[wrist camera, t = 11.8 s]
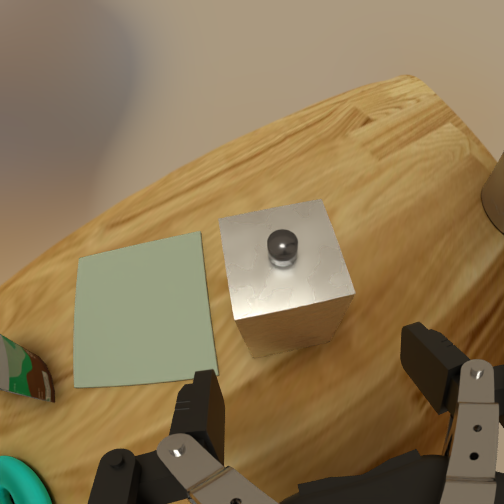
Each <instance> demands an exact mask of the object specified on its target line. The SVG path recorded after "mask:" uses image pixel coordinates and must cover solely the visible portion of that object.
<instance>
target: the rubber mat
mask: <svg viewBox="0 0 504 504" xmlns="http://www.w3.org/2000/svg"><path fill="white" fill-rule="evenodd" d="M73 357H74V388H96V387H116V386H131V385H143V384H154V383H164V382H173V381H182V380H190V379H194V374H195V371H202V370H209V369H214V371H215V374H216V376H219V371H218V365H217V358H216V351H215V344H214V337H213V330H212V322H211V315H210V307H209V299H208V291H207V283H206V274H205V266H204V257H203V247H202V238H201V232H200V231H198V232H193V233H188V234H184V235H179V236H174V237H170V238H165V239H161V240H156V241H151V242H147V243H142V244H138V245H133V246H129V247H125V248H120V249H116V250H112V251H107V252H103V253H99V254H94V255H90V256H86V257H82V258H79V264H78V273H77V284H76V297H75V314H74V350H73Z"/></svg>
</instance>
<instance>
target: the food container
mask: <svg viewBox="0 0 504 504" xmlns="http://www.w3.org/2000/svg"><path fill="white" fill-rule="evenodd" d="M0 390H3V391H7V392H11V393H14V394H18V395H22V396H27V397H31V398H35V399H40V400H45V401H50V402H55V391H54V386H53V381H52V377H51V375H50V372H49V370H48V368H47V366H46V364H45V363H44V362H43V361H42V360H41V358H40V357H39V356H37V355H35V354H33V353H32V352H30V351H28V350H26V349H25V348H23V347H21V346H19V345H18V344H16V343H14V342H13V341H11V340H9V339H8V338H6V337H4V336H3V335H1V334H0Z"/></svg>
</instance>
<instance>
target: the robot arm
mask: <svg viewBox="0 0 504 504" xmlns="http://www.w3.org/2000/svg"><path fill="white" fill-rule="evenodd" d="M481 197H482V203H483V206H484V209H485V211H486V213H487V215H488V216H489V218H490V219H491V221H492V222H493V223H494V225H495V226H496V227H497V228H498V229H499V230H500V231H501V232H503V233H504V152H503V154H502V156H501V158H500V159H499V162H498V163H497V165H496V166H495V168H494V170H493V171H492V173H491V175H490V177H489V178H488V180H487V182H486V183H485V185H484V187H483V189H482V195H481ZM400 359H401V364H402V366H403V369H404V370H405V371H406V373H407V374H408V375H409V376H410V378H411V379H412V380H413V382H414V383H415V384H416V386H417V387H418V388H419V390H420V391H421V392H422V393H423V395H424V396H425V397H426V399H427V400H428V401H429V403H430V404H431V405H432V407H433V408H434V409H435V411H436V412H437V413H438V415H440V414H442V413H444V412H447V411H449V412H450V417H449V421H448V427H447V432H446V437H445V442H444V446H443V451H442V455H423V456H420V454H419V453H418V451H417V449H415V450H412V451H410V452H407V453H405V454H402V455H400V456H397V457H394V458H391V459H389V460H387V461H386V462H384V463H382V464H381V465H379V466H377V467H376V468H374V469H372V470H370V471H369V472H367V473H365V474H363V475H357V476H345V477H330V478H325V479H321V480H316V481H312V482H307V483H302V484H298V488H299V492H298V493H296V494H294V495H292V496H290V497H288V498H286V499H284V500H283V501H281V502H280V503H277V502H276V501H274V500H273V499H272V498H270V497H269V496H268V495H266V494H265V493H264V492H262V491H261V490H260V489H258V488H257V487H256V486H255V485H253V484H252V483H251V482H250V481H248V480H247V479H246V478H245V477H243V476H242V475H241V474H240V473H238V472H237V471H236V470H235V469H234V468H232V467H230V466H227V467H226V468H225V467H224V435H225V405H224V399H223V396H222V393H221V390H220V386H219V383H218V380H217V377H216V374H215V371H214V369H209V370H202V371H195V374H194V380H193V384H185V385H184V386H183V388H182V389H181V390H180V391H179V393H178V396H177V401H176V402H177V403H176V405H175V411H174V415H173V419H172V424H171V429H170V433H169V436H168V437H166V438H164V439H163V440H162V441H161V442H160V443H159V445H158V447H157V450H155V451H153V452H150V453H146V454H142V455H138V456H134V454H133V453H132V452H131V451H129V450H127V449H114V450H111V451H109V452H108V453H106V454H105V455H104V456H103V457H102V458H101V460H100V463H99V466H98V469H97V473H96V476H95V479H94V483H93V486H92V490H91V493H90V497H89V501H88V504H168V503H172V502H175V501H179V500H183V499H186V498H187V500H188V501H189V502H190V503H191V504H504V473H500V472H496V471H495V469H496V460H497V448H498V429H499V422H500V423H501V425H502V426H503V428H504V365H499V366H494V367H492V365H491V364H490V363H488V362H487V361H484V360H480V359H474V360H470V359H469V358H468V357H467V356H466V355H465V354H464V353H463V352H462V351H460V350H459V349H458V348H457V347H456V346H455V345H453V343H452V342H450V341H449V340H448V339H447V338H446V337H445V336H444V335H443V334H442V333H440V332H437V331H435V330H432V329H430V330H428V329H427V328H426V327H425V326H424V325H423V324H421V323H420V322H416V323H413V324H410V325H407V326H404V327H403V328H402V332H401V354H400Z"/></svg>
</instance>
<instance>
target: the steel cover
mask: <svg viewBox="0 0 504 504" xmlns="http://www.w3.org/2000/svg"><path fill="white" fill-rule="evenodd" d="M219 226H220V232H221V239H222V246H223V252H224V259H225V265H226V272H227V278H228V284H229V291H230V297H231V303H232V309H233V315H234V320H235V322H236V324H237V327H238V329H239V331H240V333H241V335H242V337H243V339H244V341H245V343H246V345H247V347H248V349H249V351H250V353H251V355H252V357H253V358H258V357H263V356H269V355H273V354H278V353H283V352H288V351H292V350H297V349H301V348H306V347H310V346H314V345H318V344H322V343H326V342H330V340H331V338H332V337H333V335H334V333H335V331H336V329H337V327H338V326H339V324H340V322H341V320H342V318H343V316H344V315H345V313H346V311H347V309H348V307H349V305H350V303H351V301H352V299H353V297H354V295H355V291H354V288H353V284H352V281H351V279H350V276H349V273H348V270H347V267H346V264H345V261H344V258H343V255H342V252H341V250H340V247H339V244H338V241H337V239H336V236H335V233H334V230H333V228H332V225H331V222H330V220H329V217H328V215H327V212H326V209H325V207H324V204H323V202H322V199H319V200H313V201H307V202H302V203H297V204H291V205H286V206H281V207H275V208H270V209H265V210H260V211H255V212H250V213H245V214H240V215H235V216H230V217H225V218H220V219H219Z"/></svg>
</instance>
